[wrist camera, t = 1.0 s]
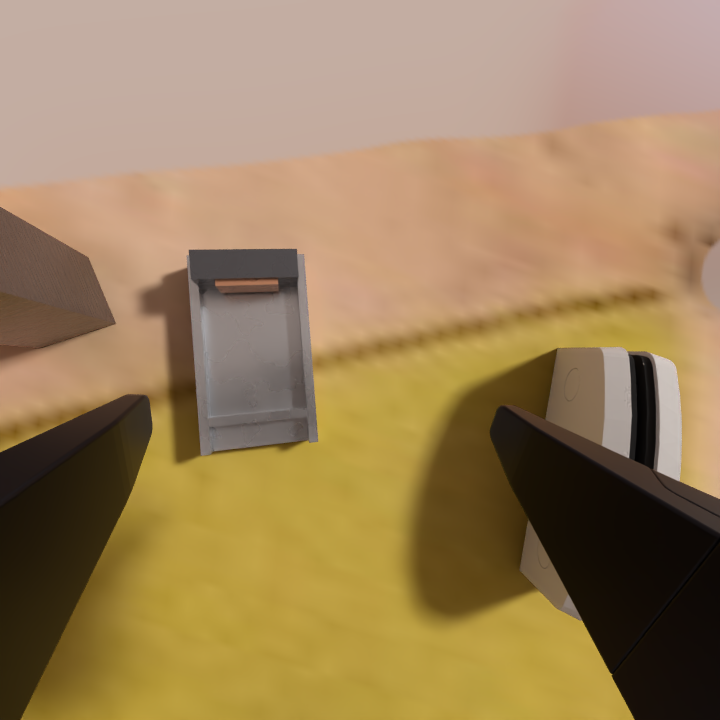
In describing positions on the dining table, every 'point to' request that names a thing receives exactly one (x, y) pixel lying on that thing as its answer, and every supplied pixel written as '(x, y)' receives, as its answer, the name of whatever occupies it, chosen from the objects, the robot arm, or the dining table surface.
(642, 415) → the white slotted device
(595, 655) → the dining table surface
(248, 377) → the grey rectangular piece
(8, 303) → the block
